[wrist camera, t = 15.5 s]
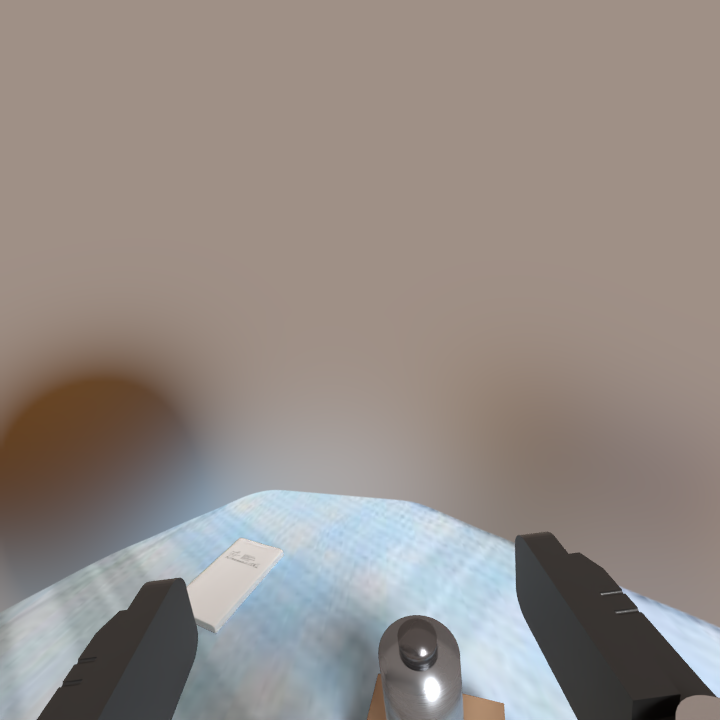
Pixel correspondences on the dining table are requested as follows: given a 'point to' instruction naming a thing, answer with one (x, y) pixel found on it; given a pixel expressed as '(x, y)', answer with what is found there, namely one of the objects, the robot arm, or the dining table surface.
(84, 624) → the dining table surface
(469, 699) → the stand
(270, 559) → the external hard drive
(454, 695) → the cylinder
